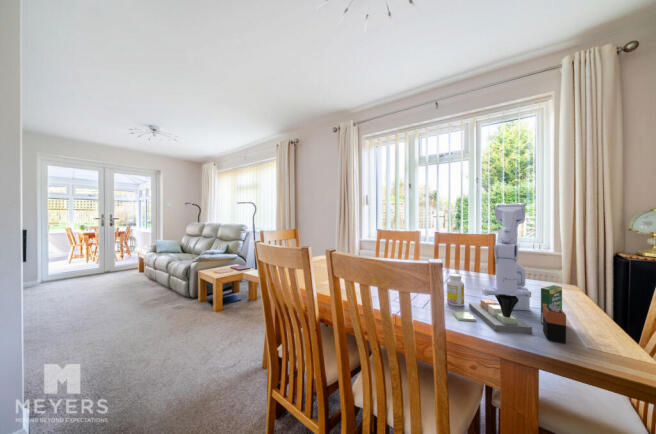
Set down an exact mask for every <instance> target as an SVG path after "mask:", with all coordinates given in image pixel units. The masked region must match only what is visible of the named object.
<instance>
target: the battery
mask: <svg viewBox="0 0 656 434" xmlns="http://www.w3.org/2000/svg"><path fill="white" fill-rule="evenodd" d="M542 331H543V334H544V337H545V338H546V340H548V341H550V342H555V343H559V344H560V343H561V344H564V345H566V343H567V314H566V313H565V312H564V311H563V308H562V309H561V308H559V307H556V305H553V304H549V306H547V305H543V324H542Z"/></svg>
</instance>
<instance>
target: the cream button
mask: <svg viewBox="0 0 656 434" xmlns="http://www.w3.org/2000/svg"><path fill="white" fill-rule="evenodd" d="M488 312H489V313H490V314H491V315H492V316H497V313H498V314H502V310H501V307H500V305H499V304H497V305H488Z"/></svg>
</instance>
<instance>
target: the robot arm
mask: <svg viewBox="0 0 656 434" xmlns="http://www.w3.org/2000/svg"><path fill="white" fill-rule="evenodd" d="M494 215H495V219H496V221H497V223H498V224H501V226H502V228H500V229H499V230H498V232H497V233H498V234H497V240H496V241H497V242H496V244H494V248H493V249H494V250H493V251H494V258H495V261H494V262H495V265H496V266H495V267H496V269H495V270H496V271H495V282H496V284H495V285H496V287H489V288H482V292H481V293H482V295H484V296H487V297H488V296H494V297H495V298H496V299H495V303H497V305H500V307H501V310H502V314H503V316H505V317H510V316H511V314H512V312H513V311H514V310H515V311H532V309H531V307H530V306H531V305H530V298H532V291H530V290H529V289H528V287H526V269H525V268H524V266H522V265H521V264H520V263H518V262H517V261H519V260H518V259H519V245H518V228H519V225H521V224H525V221H526V204H525V203H524V202H522V203H496V204H495V206H494ZM496 300H497V301H496Z"/></svg>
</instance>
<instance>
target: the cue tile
mask: <svg viewBox="0 0 656 434" xmlns="http://www.w3.org/2000/svg"><path fill="white" fill-rule="evenodd" d="M452 315H453V316H454V317H455V319H457V320H458V321H464V322H465V321H468V322H477V318H475V316H473V315H472V314H471V312H469V311H467V312H465V311H452Z"/></svg>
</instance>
